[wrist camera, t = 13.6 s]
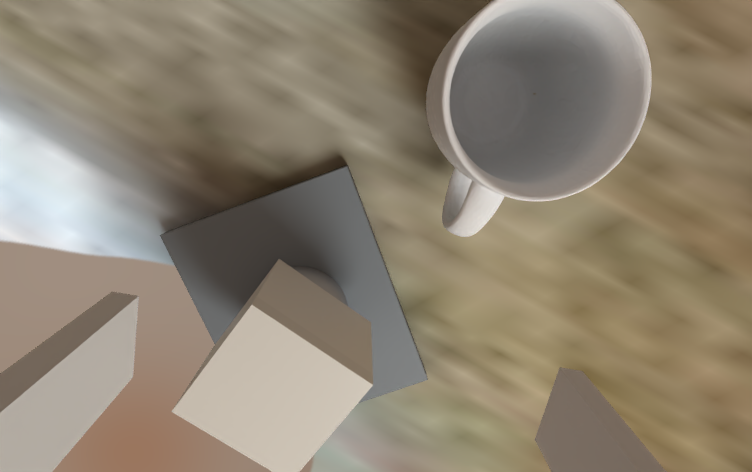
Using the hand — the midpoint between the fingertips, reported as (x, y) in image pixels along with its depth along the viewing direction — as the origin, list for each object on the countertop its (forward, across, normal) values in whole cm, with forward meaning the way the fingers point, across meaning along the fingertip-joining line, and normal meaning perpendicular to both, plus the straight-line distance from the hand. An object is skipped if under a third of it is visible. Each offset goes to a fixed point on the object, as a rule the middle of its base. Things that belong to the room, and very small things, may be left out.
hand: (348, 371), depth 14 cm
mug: (+25, +8, +9) cm, 28 cm away
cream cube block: (+19, -3, -9) cm, 22 cm away
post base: (+24, -3, -10) cm, 26 cm away
